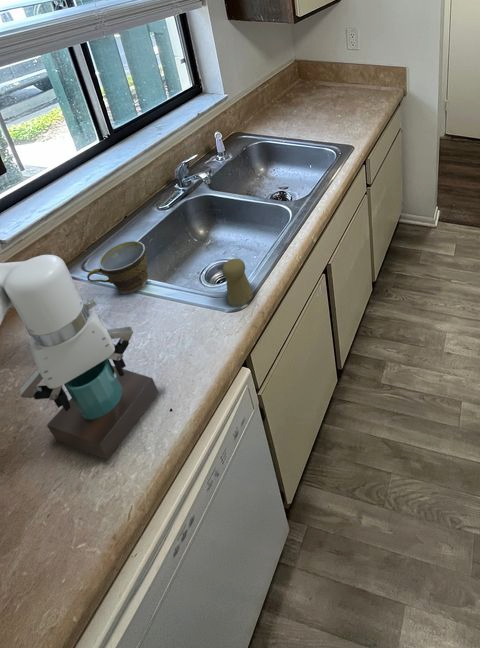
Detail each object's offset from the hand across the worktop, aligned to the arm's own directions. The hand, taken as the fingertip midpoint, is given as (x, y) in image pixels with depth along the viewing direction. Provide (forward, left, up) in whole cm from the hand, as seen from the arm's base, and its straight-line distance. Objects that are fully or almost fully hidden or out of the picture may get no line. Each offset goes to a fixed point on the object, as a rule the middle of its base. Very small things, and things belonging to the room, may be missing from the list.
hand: (94, 386), depth 80 cm
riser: (0, 0, -9) cm, 9 cm away
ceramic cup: (-22, +26, -9) cm, 35 cm away
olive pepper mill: (+8, +31, -9) cm, 33 cm away
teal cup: (0, 0, -4) cm, 4 cm away
